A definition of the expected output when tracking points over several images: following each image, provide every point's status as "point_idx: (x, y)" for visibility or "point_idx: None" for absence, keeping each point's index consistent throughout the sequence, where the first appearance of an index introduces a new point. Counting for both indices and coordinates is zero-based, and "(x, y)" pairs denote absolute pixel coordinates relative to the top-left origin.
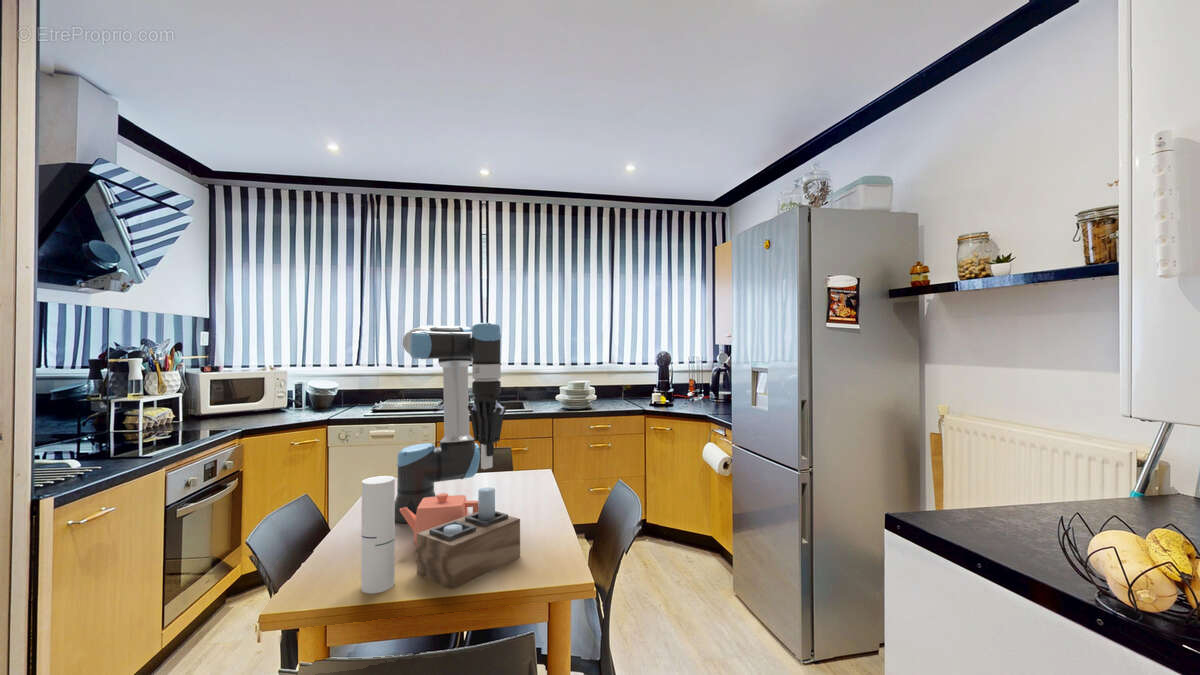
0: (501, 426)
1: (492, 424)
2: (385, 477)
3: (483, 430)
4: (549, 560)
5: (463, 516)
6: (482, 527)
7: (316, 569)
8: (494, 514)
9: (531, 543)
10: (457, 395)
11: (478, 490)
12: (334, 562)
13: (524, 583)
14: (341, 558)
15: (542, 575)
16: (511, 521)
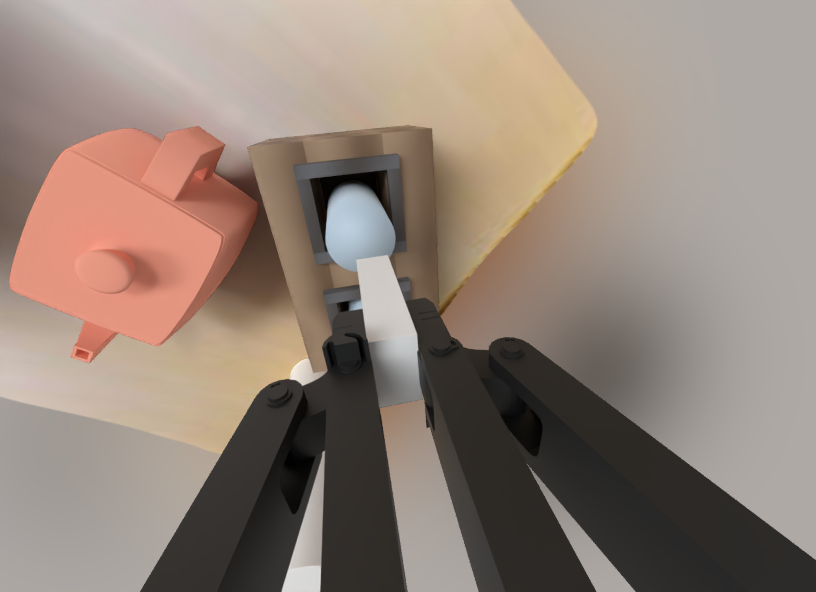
0: (669, 454)
1: (625, 570)
2: (287, 579)
3: (393, 500)
4: (482, 89)
5: (239, 223)
6: (399, 253)
7: (170, 427)
8: (378, 199)
9: (362, 29)
10: None
11: (344, 267)
12: (153, 405)
13: (505, 208)
14: (137, 394)
15: (514, 160)
16: (427, 165)
